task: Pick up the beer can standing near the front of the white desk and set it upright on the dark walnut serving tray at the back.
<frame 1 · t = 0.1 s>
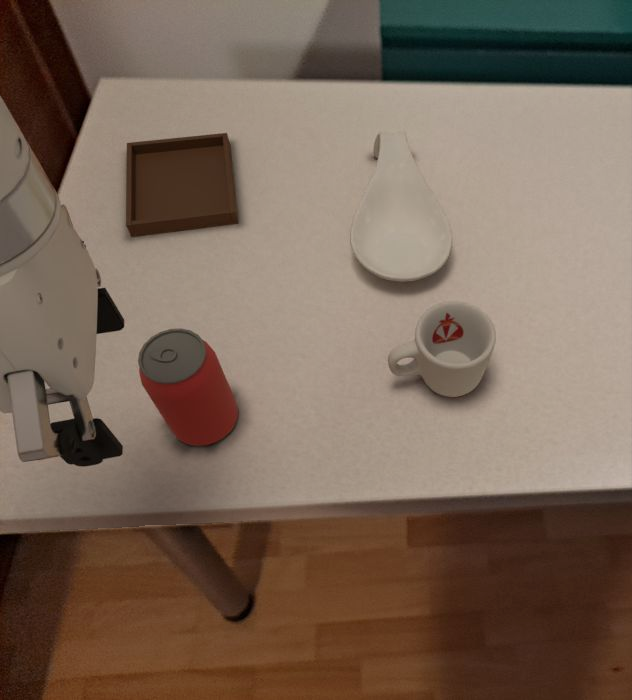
hand: (99, 389, 45), 22 cm above the table, tool pointing down, fingers open, 9 cm apart
spoon rest: (396, 221, 85), on the table
beer can: (206, 419, 69), on the table
cup: (438, 377, 74), on the table
tray: (183, 188, 85), on the table
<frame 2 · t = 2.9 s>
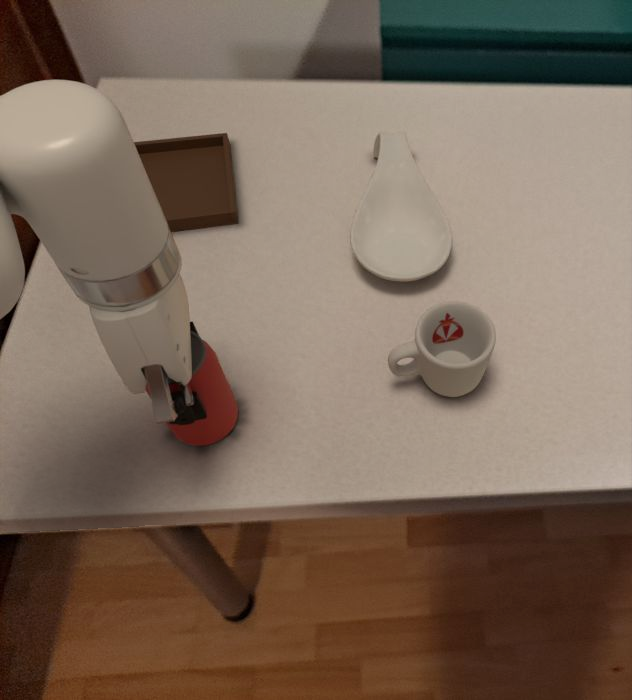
hand: (187, 382, 63), 7 cm above the table, tool pointing down, fingers closed on beer can, 6 cm apart
beer can: (206, 419, 69), on the table, touching gripper
everything else where it was.
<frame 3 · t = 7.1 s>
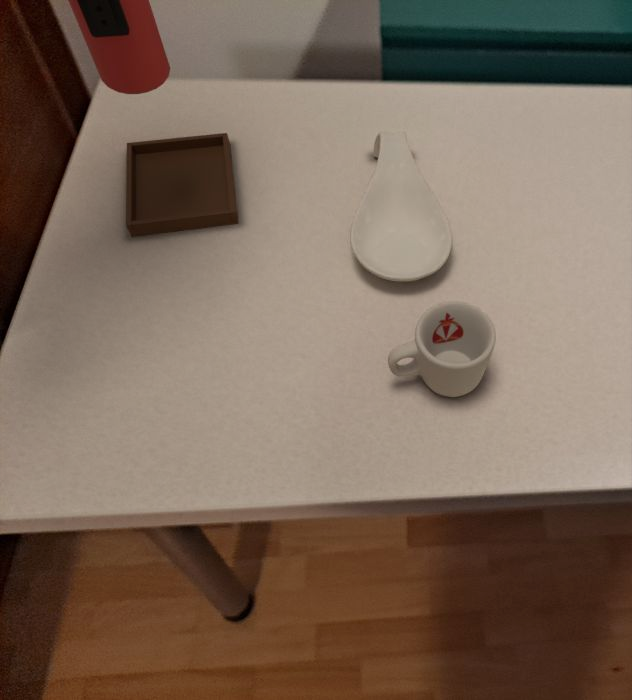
hand: (112, 9, 63), 25 cm above the table, tool pointing down, fingers closed on beer can, 6 cm apart
beer can: (138, 78, 69), point 18 cm above the table, touching gripper
everything else where it was.
when the fingers open (8 cm above the table, at t = 11.6 s): beer can stays where it is, resting on tray.
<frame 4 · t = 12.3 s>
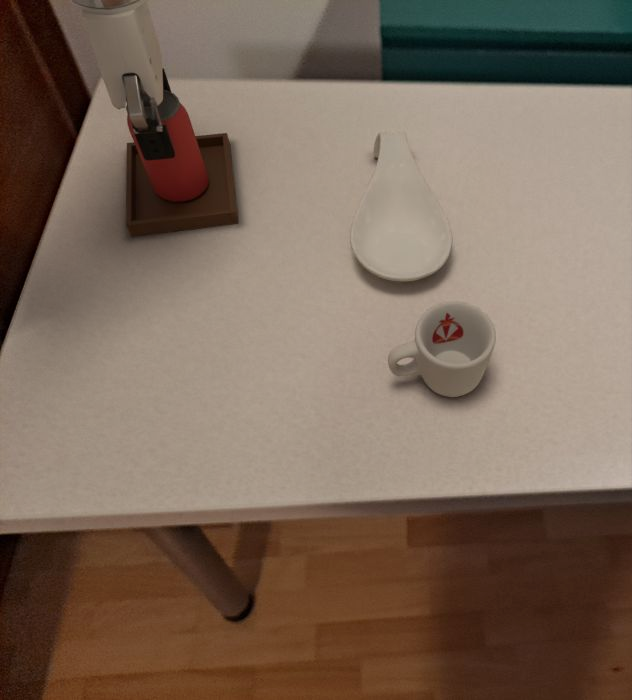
hand: (159, 128, 77), 9 cm above the table, tool pointing down, fingers open, 9 cm apart
beer can: (182, 187, 85), resting on tray
everything else where it was.
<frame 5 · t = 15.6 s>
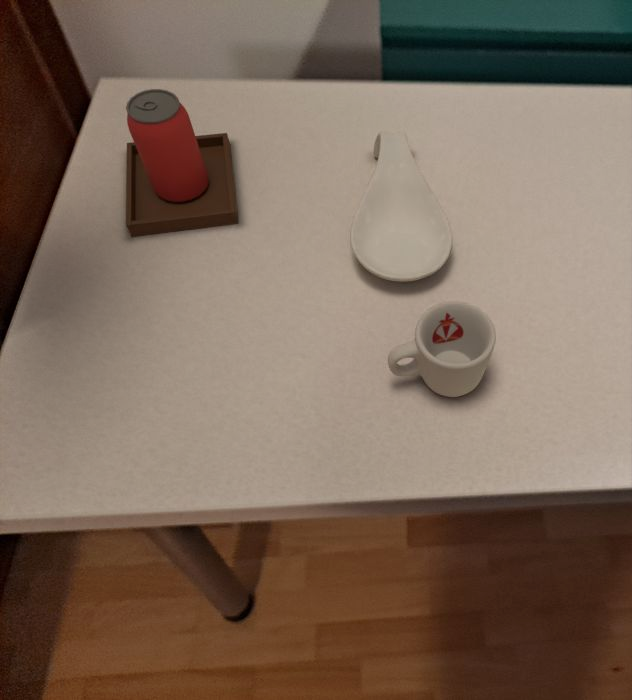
nothing on the table moved.
at the end: beer can inside the target area in the tray (0.1 cm from its centre), point 0.3 cm above the tray's base; beer can tilted 0°; the gripper is holding nothing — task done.
